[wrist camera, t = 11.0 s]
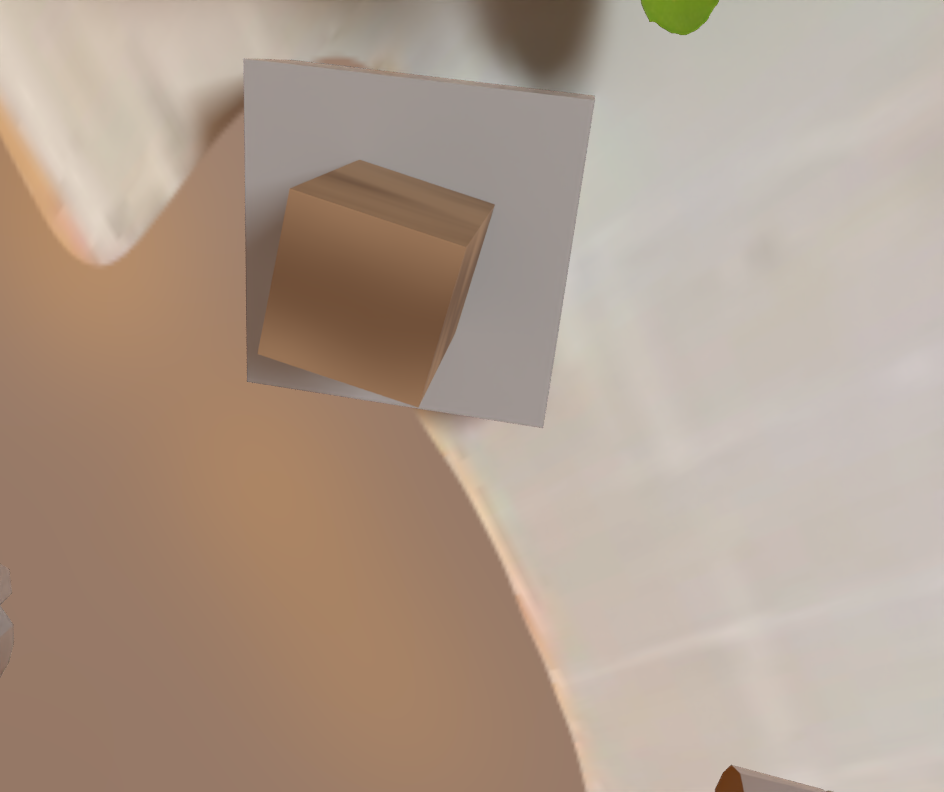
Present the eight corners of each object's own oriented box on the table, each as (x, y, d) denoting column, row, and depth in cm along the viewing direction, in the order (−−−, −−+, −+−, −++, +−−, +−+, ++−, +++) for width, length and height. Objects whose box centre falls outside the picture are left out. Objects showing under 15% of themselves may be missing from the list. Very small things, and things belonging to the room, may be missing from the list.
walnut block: (455, 332, 29) (418, 407, 23) (329, 291, 29) (257, 353, 23) (495, 204, 27) (466, 247, 21) (359, 159, 27) (289, 188, 21)
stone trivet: (549, 381, 35) (543, 428, 30) (291, 341, 36) (247, 381, 31) (594, 95, 30) (594, 99, 26) (294, 60, 31) (243, 58, 27)
